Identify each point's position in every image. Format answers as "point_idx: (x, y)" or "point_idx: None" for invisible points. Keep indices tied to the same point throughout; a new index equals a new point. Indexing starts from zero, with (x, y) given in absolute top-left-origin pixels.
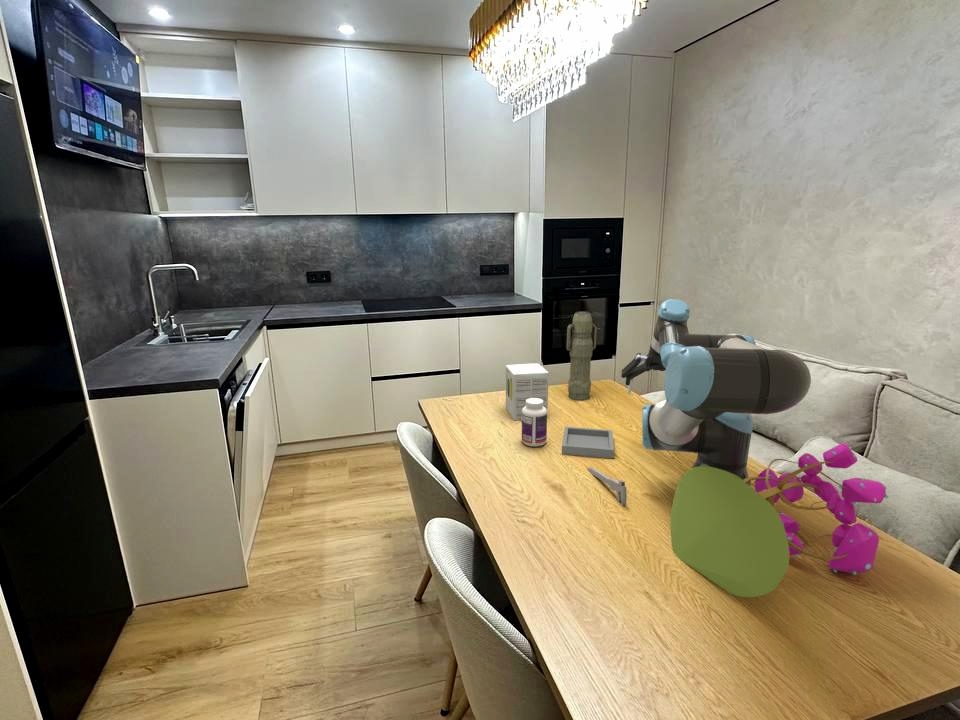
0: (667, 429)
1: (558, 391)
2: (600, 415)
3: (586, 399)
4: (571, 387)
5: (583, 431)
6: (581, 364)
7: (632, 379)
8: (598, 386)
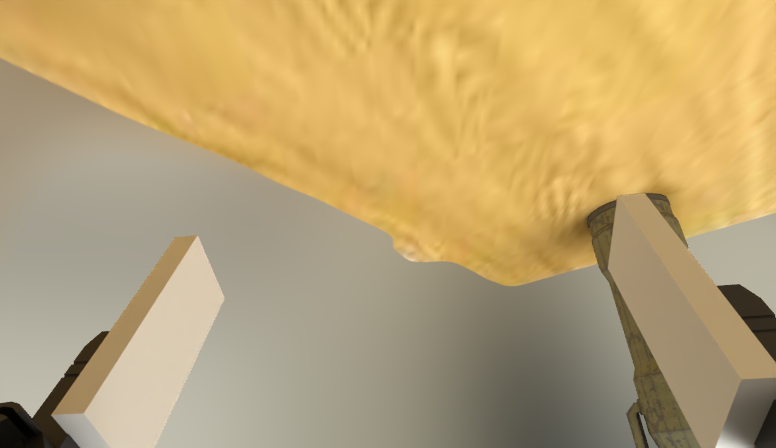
0: None
1: (685, 220)
2: (589, 125)
3: (606, 206)
4: (680, 237)
5: None
6: None
7: (744, 397)
8: (538, 267)
